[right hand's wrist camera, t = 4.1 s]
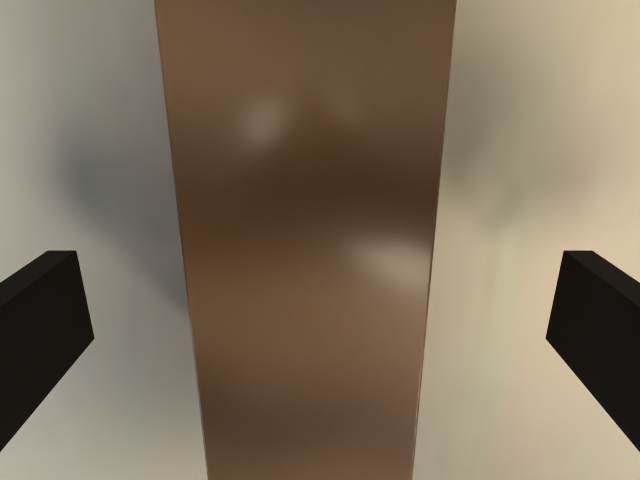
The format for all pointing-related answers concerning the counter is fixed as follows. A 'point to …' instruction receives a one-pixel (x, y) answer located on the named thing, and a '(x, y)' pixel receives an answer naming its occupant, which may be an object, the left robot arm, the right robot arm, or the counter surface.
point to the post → (307, 224)
